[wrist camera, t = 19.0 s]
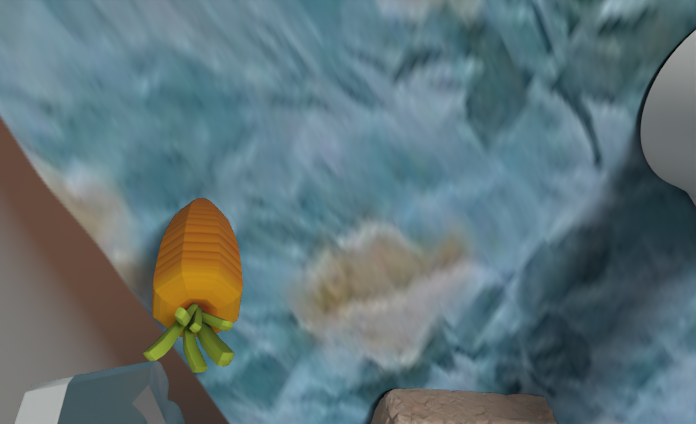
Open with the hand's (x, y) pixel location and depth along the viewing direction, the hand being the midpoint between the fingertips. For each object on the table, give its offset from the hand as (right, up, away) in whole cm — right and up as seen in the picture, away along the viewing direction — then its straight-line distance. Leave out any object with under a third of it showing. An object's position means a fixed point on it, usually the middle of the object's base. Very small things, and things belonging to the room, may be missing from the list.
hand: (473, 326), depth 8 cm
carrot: (-11, +2, +34) cm, 36 cm away
